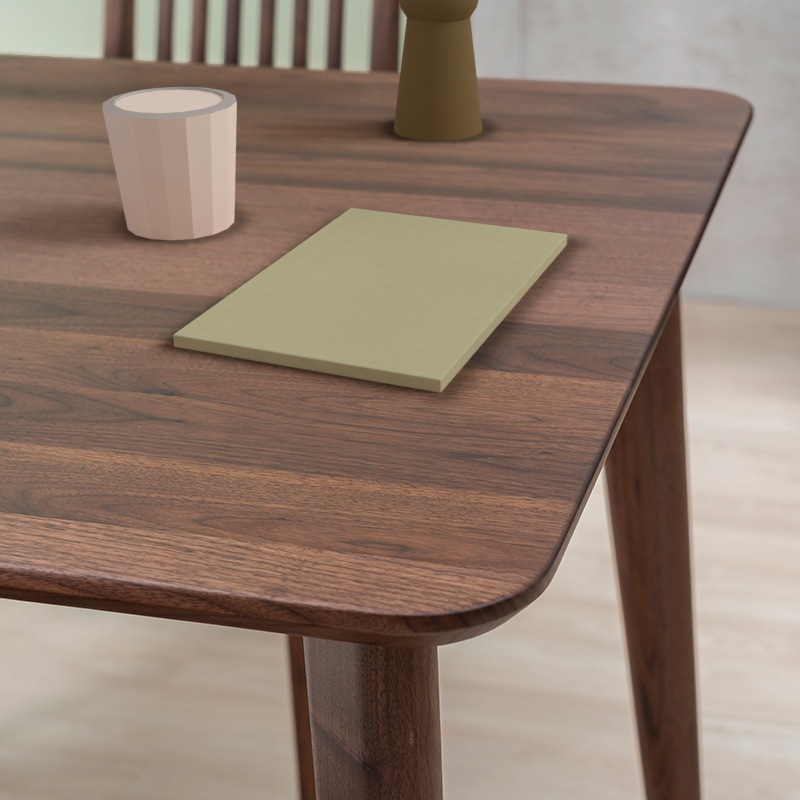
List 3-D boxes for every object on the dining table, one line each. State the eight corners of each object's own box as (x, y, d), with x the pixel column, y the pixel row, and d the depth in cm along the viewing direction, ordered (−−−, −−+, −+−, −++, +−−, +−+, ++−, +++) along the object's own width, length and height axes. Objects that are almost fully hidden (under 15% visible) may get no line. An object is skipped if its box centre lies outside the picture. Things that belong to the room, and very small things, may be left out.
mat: (351, 225, 68) (350, 207, 67) (566, 252, 64) (567, 233, 63) (174, 356, 53) (172, 334, 53) (440, 403, 49) (440, 379, 48)
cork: (496, 129, 85) (500, -42, 80) (462, 151, 80) (465, -29, 75) (415, 120, 87) (414, -46, 82) (377, 142, 83) (374, -34, 78)
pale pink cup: (130, 259, 63) (114, 122, 60) (105, 219, 69) (90, 91, 66) (261, 241, 66) (253, 107, 62) (227, 203, 71) (217, 79, 68)
